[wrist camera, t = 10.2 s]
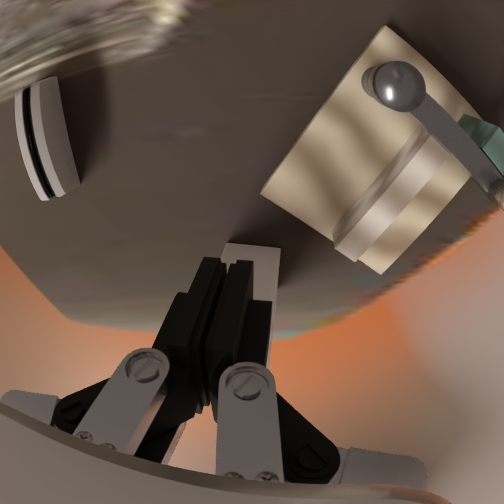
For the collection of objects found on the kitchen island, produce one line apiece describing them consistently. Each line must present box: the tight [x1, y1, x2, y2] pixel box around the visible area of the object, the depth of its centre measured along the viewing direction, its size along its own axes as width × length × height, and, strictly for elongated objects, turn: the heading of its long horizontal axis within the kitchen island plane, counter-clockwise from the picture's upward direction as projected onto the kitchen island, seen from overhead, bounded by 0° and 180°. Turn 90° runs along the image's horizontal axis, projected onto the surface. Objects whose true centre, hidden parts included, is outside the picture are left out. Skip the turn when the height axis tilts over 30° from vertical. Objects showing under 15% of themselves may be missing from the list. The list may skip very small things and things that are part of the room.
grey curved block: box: [15, 76, 80, 201], centre depth 32 cm, size 17×5×10 cm, turn 6°
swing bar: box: [368, 61, 504, 210], centre depth 22 cm, size 18×4×6 cm, turn 59°
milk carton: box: [221, 243, 281, 369], centre depth 35 cm, size 7×7×19 cm
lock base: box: [260, 25, 504, 275], centre depth 29 cm, size 24×19×9 cm
